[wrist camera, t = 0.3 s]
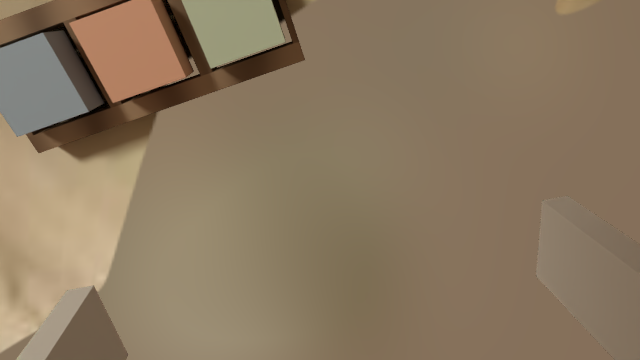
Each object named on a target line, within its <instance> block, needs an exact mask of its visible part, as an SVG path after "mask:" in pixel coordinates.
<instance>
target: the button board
mask: <svg viewBox="0 0 640 360" xmlns="http://www.w3.org/2000/svg"><path fill="white" fill-rule="evenodd" d="M128 1H131V0H53V1H51V2H48V3H45V4H42V5H40V6H37V7H34V8H32V9H29V10H26V11H23V12H21V13H18V14H15V15H13V16H10V17H7V18H4V19H2V20H0V48H2V47H5V46H8V45H10V44H13V43H16V42H18V41H21V40H24V39H27V38H29V37H32V36H35V35H38V34H40V33H44V32H49V31H51V30H54V29H57V28H60V27H62V26H66V28H67V30H68V32H69V34H70V35H71V37H72V39H73V41H74V43H75V44H76V46H77V48H78V50H79V52H80V53H81V55H82V57H83V59H84V61H85V62H86V64H87V66H88V68H89V70H90V72H91V73H92V75H93V77H94V79H95V81H96V82H97V84H98V86H99V88H100V90H101V91H102V93H103V95H104V97H105V99H106V100H107V102H108V104H109V106H108V107H105V108H102V109H99V110H96V111H94V112H91V113H88V114H85V115H82V116H79V117H77V118H74V119H71V120H68V121H65V122H62V123H60V124H57V125H54V126H51V127H49V126H47V127H44V128H41V129H38V130H35V131H33V132H30V133H27V134H26V135H27V137H28V138H29V140H30V141H31V143H32V144H33V146H34V147H35V149H36V150H37V152H38V153H41V152H44V151H46V150H49V149H52V148H55V147H58V146H61V145H63V144H66V143H69V142H72V141H75V140H78V139H81V138H83V137H86V136H89V135H92V134H95V133H98V132H101V131H103V130H106V129H109V128H112V127H115V126H118V125H121V124H123V123H126V122H129V121H132V120H135V119H138V118H141V117H143V116H146V115H149V114H152V113H155V112H158V111H161V110H163V109H166V108H169V107H172V106H175V105H178V104H181V103H183V102H186V101H189V100H192V99H195V98H198V97H200V96H203V95H206V94H209V93H212V92H215V91H217V90H220V89H223V88H226V87H229V86H232V85H235V84H238V83H240V82H243V81H246V80H249V79H252V78H255V77H257V76H260V75H263V74H266V73H269V72H272V71H275V70H277V69H280V68H283V67H286V66H289V65H292V64H295V63H298V62H300V61H303V60H305V58H304V55H303V53H302V49H301V46H300V43H299V40H298V37H297V34H296V31H295V28H294V25H293V22H292V19H291V16H290V13H289V10H288V7H287V4H286V1H285V0H279V3H280V6H281V9H282V12H283V15H284V18H285V21H286V23H287V27H288V30H289V33H290V36H291V39H292V42H289V43H286V44H283V45H281V46H278V47H275V48H272V49H270V50H266V51H264V52H261V53H258V54H255V55H252V56H250V57H247V58H244V59H241V60H238V61H235V62H232V63H230V64H227V65H224V66H221V67H218V68H217V67H214V68H210V66H209V63H208V61H207V59H206V56H205V54H204V52H203V49H202V47H201V45H200V42H199V40H198V38H197V35H196V33H195V31H194V28H193V26H192V24H191V21H190V19H189V17H188V14H187V12H186V10H185V7H184V5H183V3H182V0H167V1H168V3H169V5H170V7H171V10H172V12H173V14H174V16H175V19H176V21H177V23H178V25H179V28H180V30H181V32H182V34H183V37H184V39H185V41H186V43H187V46H188V48H189V50H190V52H191V55H192V57H193V59H194V62H195V64H196V66H197V68H198V70H199V72H200V74H198V75H196V76H193V77H190V78H187V79H184V80H181V81H179V82H176V83H173V84H170V85H167V86H164V87H162V88H159V89H156V90H153V91H150V92H147V93H145V94H142V95H139V96H136V97H133V98H132V97H129V98H126V99H123V100H120V101H118V102H115V103H113V102H112V101H111V99H110V97H109V95H108V93H107V91H106V90H105V88H104V86H103V84H102V82H101V81H100V79H99V77H98V75H97V73H96V71H95V70H94V68H93V66H92V64H91V62H90V61H89V59H88V57H87V55H86V53H85V51H84V50H83V48H82V46H81V44H80V42H79V41H78V39H77V37H76V35H75V33H74V31H73V30H72V28H71V26H70V24H69V23H71V22H73V21H76V20H79V19H82V18H84V17H87V16H90V15H93V14H95V13H98V12H101V11H104V10H106V9H109V8H112V7H115V6H117V5H120V4H123V3H126V2H128Z"/></svg>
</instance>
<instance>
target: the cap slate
mask: <svg viewBox="0 0 640 360" xmlns="http://www.w3.org/2000/svg"><path fill="white" fill-rule="evenodd" d="M102 104H104V101H103V100H102V98H101V96H100V94H99V92H98V91H97V89H96V87H95V85H94V83H93V82H92V80H91V78H90V76H89V74H88V73H87V71H86V69H85V67H84V66H83V64H82V62H81V60H80V58H79V57H78V55H77V53H76V51H75V49H74V48H73V46H72V44H71V42H70V40H69V39H68V37H67V35H66V33H65V32H64V30H62V31H53V32H44V33H40V34H38V35H35V36H32V37H29V38H27V39H24V40H21V41H18V42H16V43H13V44H10V45H8V46H5V47H2V48H0V112H1V114H2V115H3V117H4V118H5V120H6V121H7V123H8V124H9V125H10V127H11V128H12V130H13V131H14V133H15V134H16V136H17V137H18V136H21V135H24V134H27V133H30V132H33V131H35V130H38V129H41V128H44V127H47V126H50V125H52V124H55V123H58V122H61V121H64V120H67V119H69V118H72V117H75V116H78V115H81V114H84V113H86V112H89V111H91V110H93V109H95V108H96V107H98V106H100V105H102Z"/></svg>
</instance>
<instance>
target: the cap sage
mask: <svg viewBox="0 0 640 360" xmlns="http://www.w3.org/2000/svg"><path fill="white" fill-rule="evenodd" d="M182 3H183V5H184V7H185V10H186V12H187V14H188V17H189V19H190V21H191V24H192V26H193V28H194V31H195V33H196V35H197V38H198V40H199V42H200V45H201V47H202V49H203V52H204V54H205V56H206V59H207V61H208V63H209V66H210V68H214V67H217V66H219V65H222V64H225V63H228V62H231V61H233V60H236V59H239V58H242V57H245V56H248V55H251V54H253V53H256V52H259V51H262V50H265V49H268V48H270V47H273V46H276V45H279V44H281V43H285V42H286V41H285V37H284V34H283V31H282V29H281V26H280V23H279V20H278V17H277V14H276V11H275V8H274V5H273V2H272V0H182Z"/></svg>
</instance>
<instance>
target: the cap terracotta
mask: <svg viewBox="0 0 640 360" xmlns="http://www.w3.org/2000/svg"><path fill="white" fill-rule="evenodd" d="M69 24H70V26H71V28H72V30H73V31H74V33H75V35H76V37H77V39H78V41H79V42H80V44H81V46H82V48H83V50H84V51H85V53H86V55H87V57H88V59H89V61H90V62H91V64H92V66H93V68H94V70H95V71H96V73H97V75H98V77H99V79H100V81H101V82H102V84H103V86H104V88H105V90H106V91H107V93H108V95H109V97H110V99H111V101H112V102H113V103H115V102H118V101H120V100H123V99H126V98H129V97H132V96H135V95H137V94H140V93H143V92H146V91H149V90H152V89H154V88H157V87H160V86H163V85H166V84H169V83H171V82H174V81H177V80H180V79H182V78H185V77H187V76H188V75H190V74H191V73H192V72H193V68H192V66H191V64H190V62H189V59H188V57H187V55H186V53H185V51H184V48H183V46H182V44H181V42H180V39H179V37H178V35H177V33H176V30H175V28H174V26H173V24H172V21H171V19H170V17H169V15H168V13H167V10H166V8H165V6H164V4H163V1H162V0H131V1H128V2H126V3H123V4H120V5H117V6H115V7H112V8H109V9H106V10H104V11H101V12H98V13H95V14H93V15H90V16H87V17H84V18H82V19H79V20H76V21H73V22H71V23H69Z"/></svg>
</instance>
